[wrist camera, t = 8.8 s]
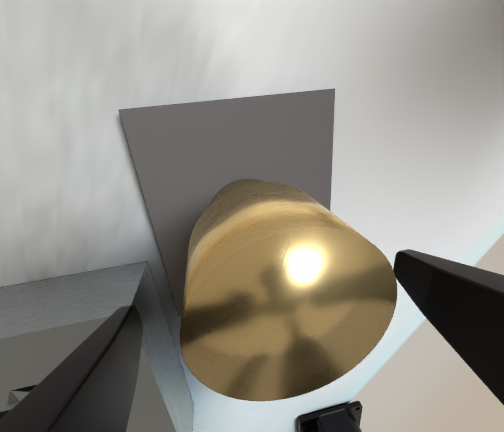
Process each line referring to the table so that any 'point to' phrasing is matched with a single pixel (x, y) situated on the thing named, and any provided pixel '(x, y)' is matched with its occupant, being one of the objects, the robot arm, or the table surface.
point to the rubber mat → (224, 158)
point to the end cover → (279, 294)
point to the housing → (82, 326)
